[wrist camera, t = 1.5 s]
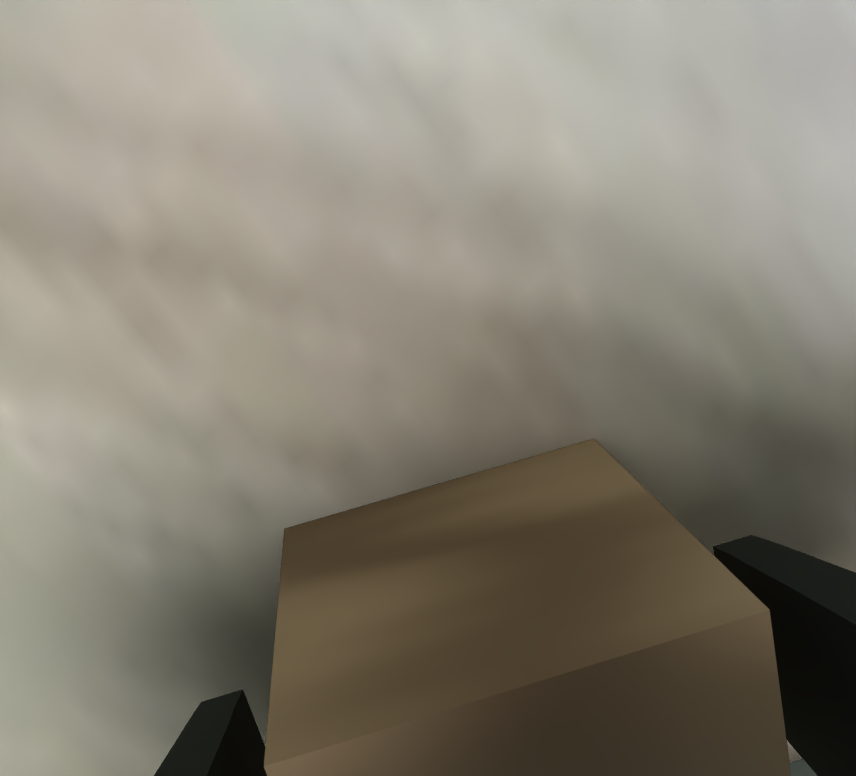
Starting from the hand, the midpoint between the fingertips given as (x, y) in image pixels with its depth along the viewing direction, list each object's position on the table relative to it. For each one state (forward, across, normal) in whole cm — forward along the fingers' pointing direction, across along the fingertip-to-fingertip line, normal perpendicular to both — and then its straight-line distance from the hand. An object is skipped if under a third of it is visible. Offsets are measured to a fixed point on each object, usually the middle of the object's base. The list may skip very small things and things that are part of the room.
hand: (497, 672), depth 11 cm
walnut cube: (+2, 0, 0) cm, 2 cm away
